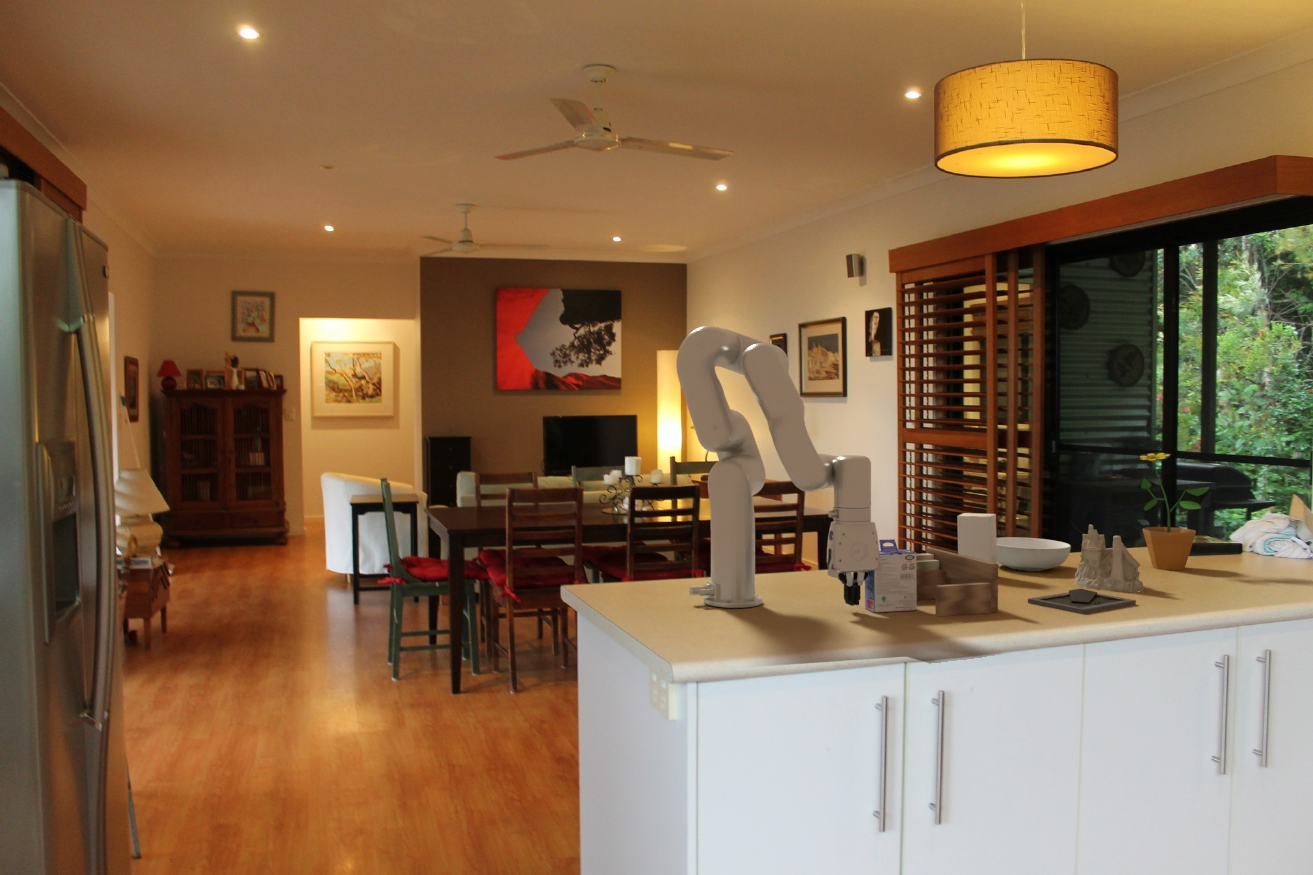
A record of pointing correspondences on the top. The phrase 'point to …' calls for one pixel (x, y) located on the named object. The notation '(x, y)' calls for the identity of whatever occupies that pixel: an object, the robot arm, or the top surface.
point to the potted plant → (1169, 542)
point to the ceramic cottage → (1107, 565)
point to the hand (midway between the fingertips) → (852, 604)
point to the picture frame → (1081, 601)
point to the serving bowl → (1031, 553)
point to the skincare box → (977, 536)
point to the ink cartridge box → (892, 581)
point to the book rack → (957, 582)
